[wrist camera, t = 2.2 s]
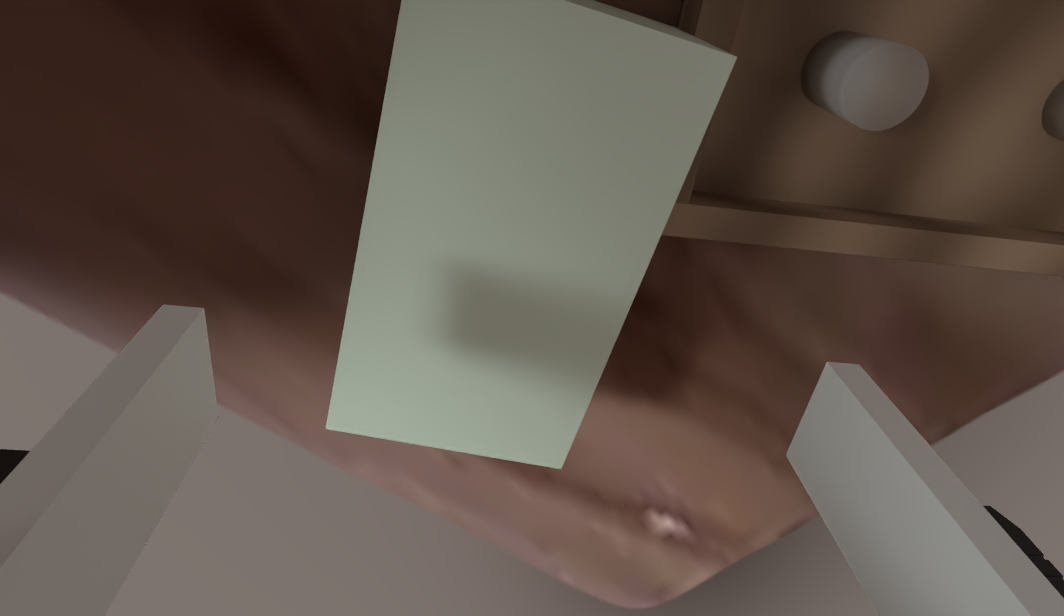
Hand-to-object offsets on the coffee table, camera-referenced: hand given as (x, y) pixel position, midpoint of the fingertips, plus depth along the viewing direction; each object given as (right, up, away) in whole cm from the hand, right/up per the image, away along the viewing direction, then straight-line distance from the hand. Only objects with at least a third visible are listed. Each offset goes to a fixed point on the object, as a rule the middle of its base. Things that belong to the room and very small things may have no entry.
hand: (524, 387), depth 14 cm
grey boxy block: (-1, +6, +9) cm, 11 cm away
